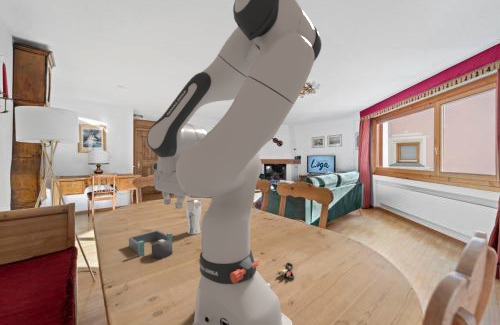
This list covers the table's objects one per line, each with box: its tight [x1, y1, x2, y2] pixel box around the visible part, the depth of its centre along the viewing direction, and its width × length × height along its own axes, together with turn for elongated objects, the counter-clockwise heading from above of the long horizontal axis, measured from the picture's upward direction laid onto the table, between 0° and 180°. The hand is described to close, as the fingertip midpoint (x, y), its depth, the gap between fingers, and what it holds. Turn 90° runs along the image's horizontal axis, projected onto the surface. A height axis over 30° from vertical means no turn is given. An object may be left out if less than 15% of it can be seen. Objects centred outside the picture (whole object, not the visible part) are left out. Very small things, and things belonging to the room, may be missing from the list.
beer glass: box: [185, 199, 202, 235], centre depth 100 cm, size 7×7×15 cm
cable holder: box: [128, 230, 173, 257], centre depth 85 cm, size 12×12×5 cm
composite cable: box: [276, 262, 295, 281], centre depth 66 cm, size 10×5×2 cm, turn 152°
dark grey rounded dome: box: [151, 239, 173, 260], centre depth 78 cm, size 7×7×5 cm
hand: (172, 206), depth 72 cm, fingers open, 6 cm apart
